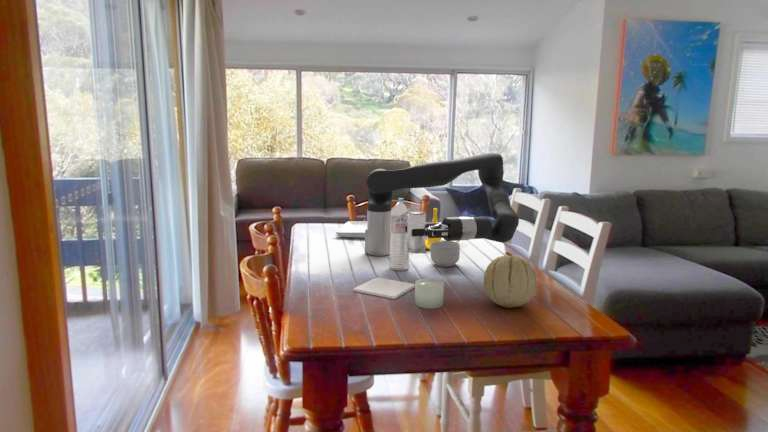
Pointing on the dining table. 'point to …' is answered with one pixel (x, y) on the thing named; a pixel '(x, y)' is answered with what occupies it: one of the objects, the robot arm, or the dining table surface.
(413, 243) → the can
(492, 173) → the robot arm
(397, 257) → the water bottle
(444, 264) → the teacup
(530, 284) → the cantaloupe
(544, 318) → the dining table surface
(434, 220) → the banana peel
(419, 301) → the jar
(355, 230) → the square plate
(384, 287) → the tile
